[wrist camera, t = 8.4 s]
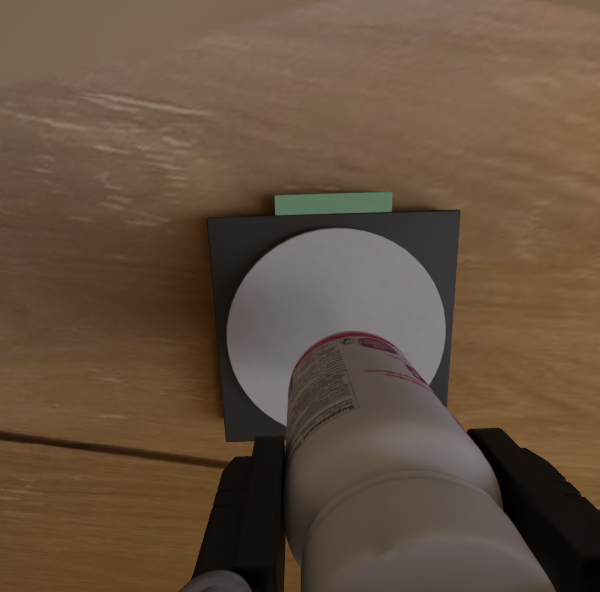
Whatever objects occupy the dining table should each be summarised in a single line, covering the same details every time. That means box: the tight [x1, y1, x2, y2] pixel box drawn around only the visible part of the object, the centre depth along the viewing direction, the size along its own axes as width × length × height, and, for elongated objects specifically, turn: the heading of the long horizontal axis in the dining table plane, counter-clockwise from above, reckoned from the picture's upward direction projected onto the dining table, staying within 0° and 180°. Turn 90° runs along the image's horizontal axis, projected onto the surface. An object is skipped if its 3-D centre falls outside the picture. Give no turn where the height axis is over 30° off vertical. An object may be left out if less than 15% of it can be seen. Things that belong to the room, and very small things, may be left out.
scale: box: [207, 192, 460, 442], centre depth 20 cm, size 14×13×3 cm
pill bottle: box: [283, 331, 556, 592], centre depth 9 cm, size 5×5×8 cm
